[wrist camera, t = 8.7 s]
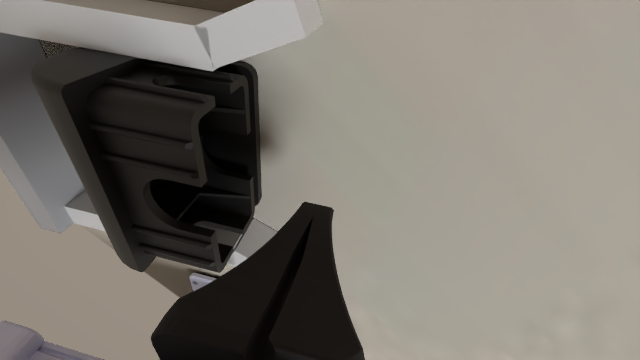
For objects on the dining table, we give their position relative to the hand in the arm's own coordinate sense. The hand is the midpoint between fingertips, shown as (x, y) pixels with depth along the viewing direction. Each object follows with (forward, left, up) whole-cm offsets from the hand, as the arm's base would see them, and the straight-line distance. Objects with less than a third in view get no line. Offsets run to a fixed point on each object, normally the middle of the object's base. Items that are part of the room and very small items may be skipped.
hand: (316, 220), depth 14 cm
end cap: (0, +8, -5) cm, 9 cm away
